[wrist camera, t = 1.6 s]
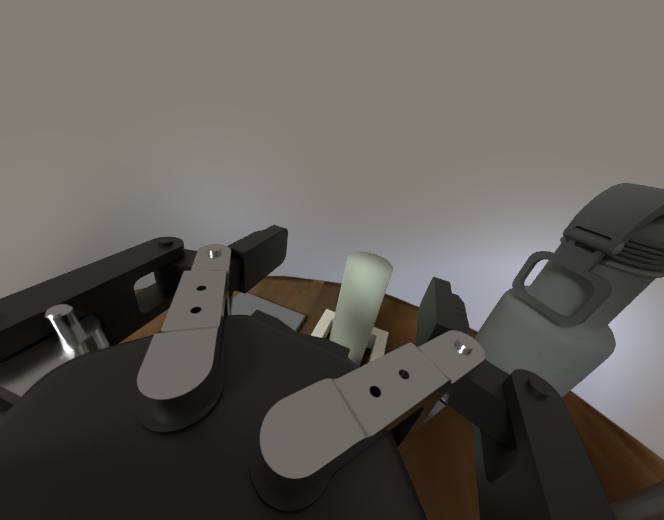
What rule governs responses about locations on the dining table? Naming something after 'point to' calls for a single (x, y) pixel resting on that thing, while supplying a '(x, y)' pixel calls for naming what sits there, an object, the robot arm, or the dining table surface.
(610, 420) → the dining table surface
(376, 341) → the cream pocket
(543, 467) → the robot arm
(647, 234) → the water bottle
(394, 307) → the dining table surface
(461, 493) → the dining table surface
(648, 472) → the dining table surface
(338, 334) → the sage canister
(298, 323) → the gray mat
